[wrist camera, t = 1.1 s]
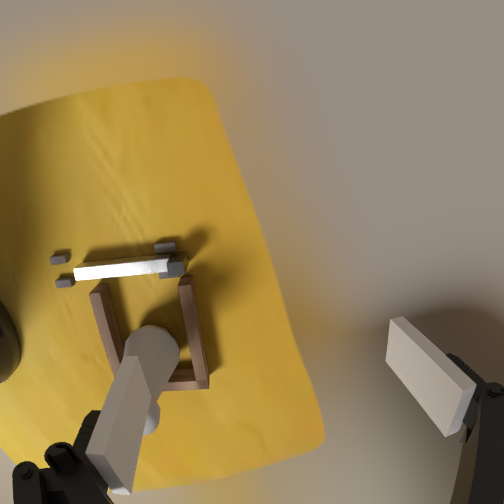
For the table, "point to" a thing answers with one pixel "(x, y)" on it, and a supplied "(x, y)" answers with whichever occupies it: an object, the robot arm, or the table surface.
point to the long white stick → (134, 266)
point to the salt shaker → (153, 364)
